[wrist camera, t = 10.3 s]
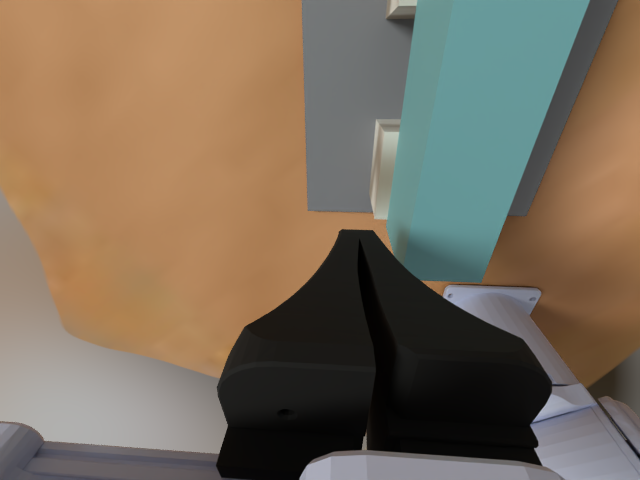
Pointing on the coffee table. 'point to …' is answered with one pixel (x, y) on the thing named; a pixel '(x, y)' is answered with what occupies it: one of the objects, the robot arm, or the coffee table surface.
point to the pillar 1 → (383, 165)
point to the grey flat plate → (396, 96)
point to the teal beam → (471, 125)
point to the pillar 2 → (401, 9)
